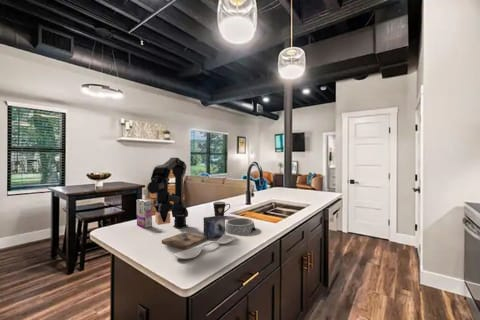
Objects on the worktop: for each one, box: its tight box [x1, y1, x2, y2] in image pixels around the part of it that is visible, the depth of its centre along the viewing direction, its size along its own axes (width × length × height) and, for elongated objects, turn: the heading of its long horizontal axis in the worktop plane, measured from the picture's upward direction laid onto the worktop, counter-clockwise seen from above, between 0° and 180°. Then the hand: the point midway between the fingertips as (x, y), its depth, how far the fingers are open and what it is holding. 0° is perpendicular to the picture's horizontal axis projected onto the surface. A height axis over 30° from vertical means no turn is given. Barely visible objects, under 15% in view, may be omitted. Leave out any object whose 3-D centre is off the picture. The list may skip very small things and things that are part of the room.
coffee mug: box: [212, 201, 231, 218], centre depth 169 cm, size 12×9×10 cm
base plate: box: [161, 231, 208, 251], centre depth 121 cm, size 16×16×4 cm
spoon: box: [174, 233, 238, 260], centre depth 111 cm, size 9×32×4 cm, turn 137°
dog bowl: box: [225, 217, 256, 236], centre depth 139 cm, size 17×18×5 cm
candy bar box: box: [135, 198, 153, 229], centre depth 149 cm, size 11×5×16 cm, turn 49°
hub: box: [154, 211, 171, 226], centre depth 121 cm, size 6×6×5 cm
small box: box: [202, 215, 226, 241], centre depth 128 cm, size 11×6×10 cm, turn 117°
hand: (162, 220), depth 121 cm, fingers closed on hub, 6 cm apart
